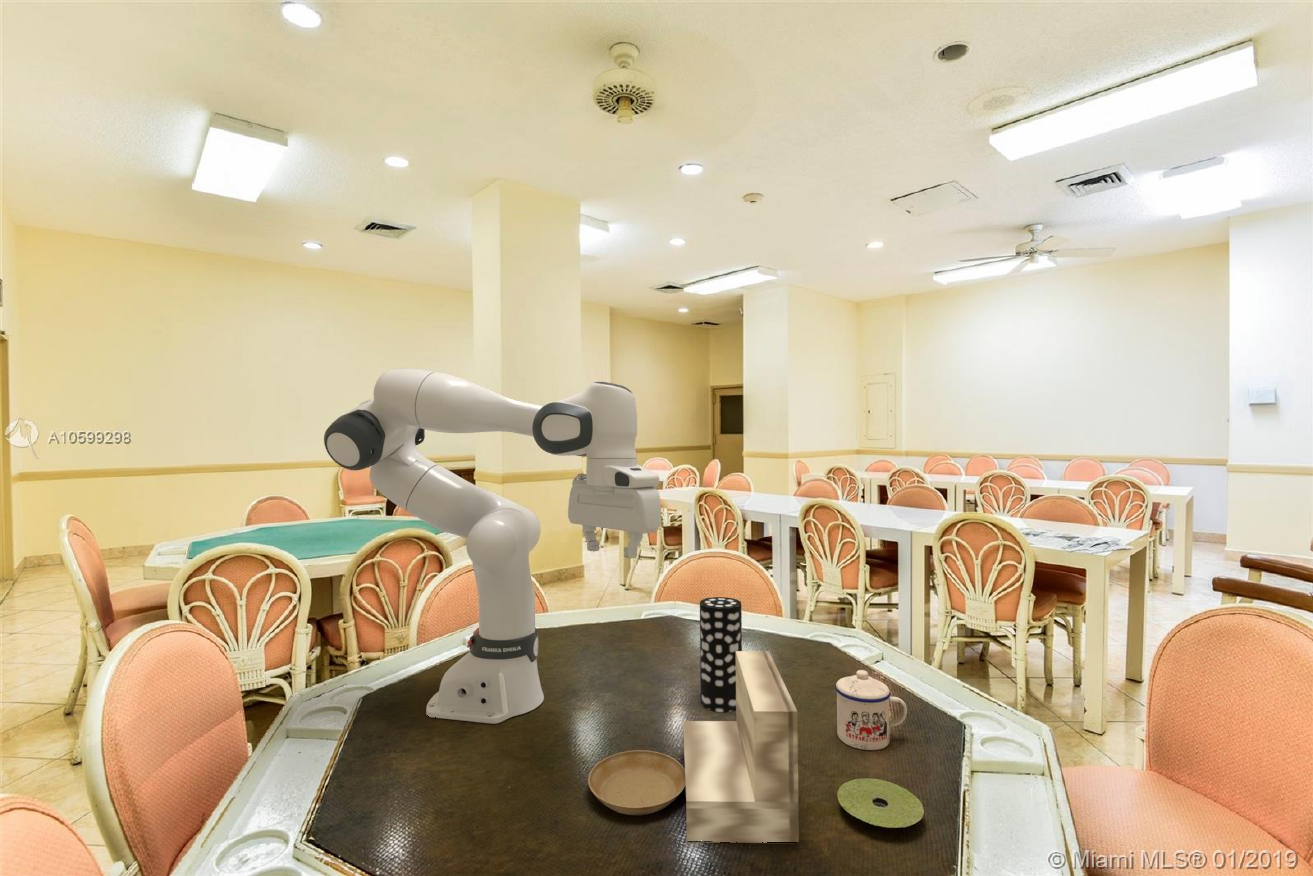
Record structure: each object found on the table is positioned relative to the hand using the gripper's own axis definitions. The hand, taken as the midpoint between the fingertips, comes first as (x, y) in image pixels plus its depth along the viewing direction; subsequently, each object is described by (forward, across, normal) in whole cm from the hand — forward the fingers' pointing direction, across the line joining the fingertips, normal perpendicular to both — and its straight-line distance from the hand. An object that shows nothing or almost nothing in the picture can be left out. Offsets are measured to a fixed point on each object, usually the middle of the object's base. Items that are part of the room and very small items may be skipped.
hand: (611, 554), depth 102 cm
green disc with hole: (+32, +42, +11) cm, 55 cm away
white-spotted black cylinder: (+32, +5, +26) cm, 42 cm away
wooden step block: (+32, +24, +2) cm, 41 cm away
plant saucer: (+33, +14, -7) cm, 37 cm away
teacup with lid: (+32, +33, +31) cm, 56 cm away
